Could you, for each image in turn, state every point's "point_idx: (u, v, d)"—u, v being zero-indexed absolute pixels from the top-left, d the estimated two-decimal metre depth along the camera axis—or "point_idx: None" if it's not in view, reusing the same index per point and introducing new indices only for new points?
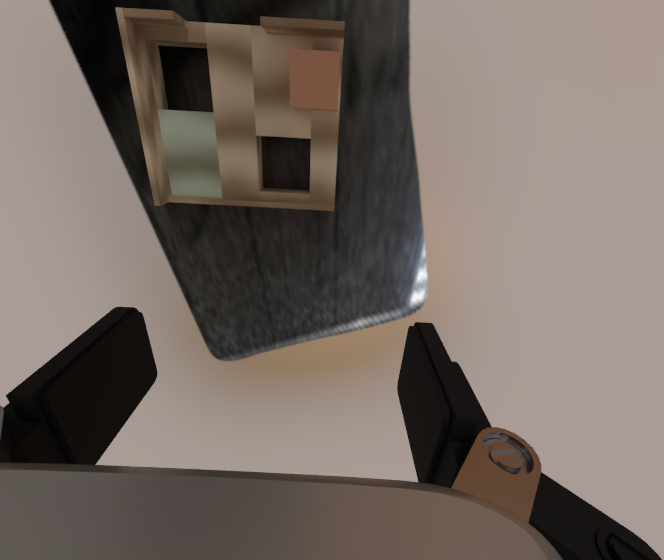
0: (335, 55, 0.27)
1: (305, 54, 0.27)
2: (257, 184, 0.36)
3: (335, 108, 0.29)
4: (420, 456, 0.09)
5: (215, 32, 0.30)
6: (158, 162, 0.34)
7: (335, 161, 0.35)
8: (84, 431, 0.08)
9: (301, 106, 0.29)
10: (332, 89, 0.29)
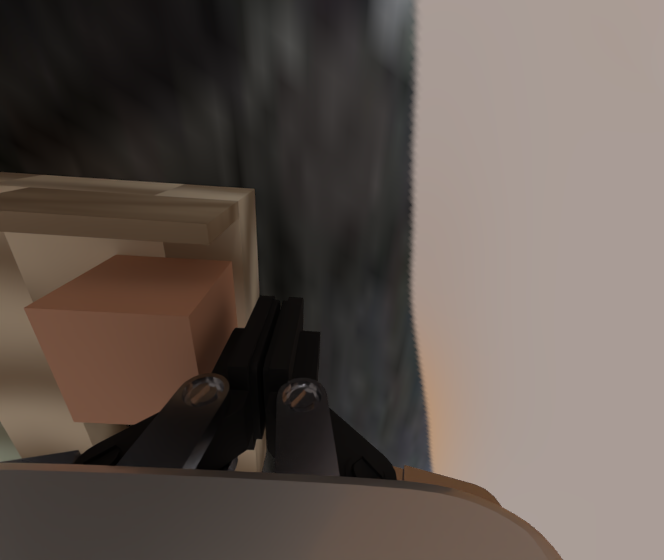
0: (175, 324, 0.09)
1: (80, 321, 0.09)
2: None
3: None
4: None
5: None
6: None
7: None
8: (262, 401, 0.09)
9: (106, 421, 0.10)
10: None
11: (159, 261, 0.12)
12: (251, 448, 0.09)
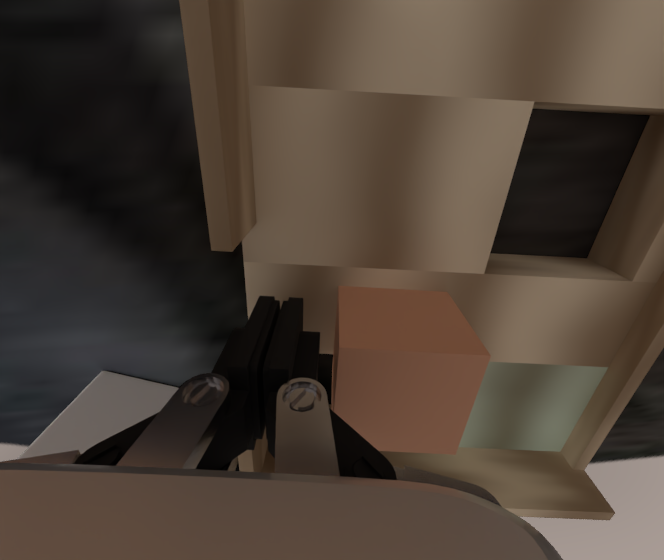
0: (348, 358, 0.09)
1: None
2: (611, 283, 0.13)
3: (486, 360, 0.09)
4: None
5: None
6: (506, 479, 0.15)
7: None
8: (262, 401, 0.09)
9: (460, 433, 0.11)
10: (434, 366, 0.09)
11: (334, 343, 0.13)
12: (251, 447, 0.09)
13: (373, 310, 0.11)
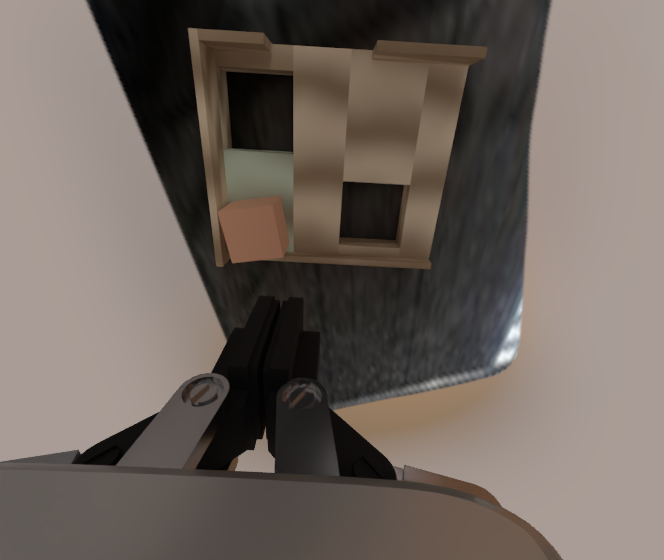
0: (268, 209, 0.25)
1: (235, 214, 0.25)
2: (337, 237, 0.30)
3: (281, 256, 0.26)
4: None
5: (306, 57, 0.24)
6: None
7: (436, 211, 0.29)
8: (262, 401, 0.09)
9: (244, 260, 0.27)
10: (273, 240, 0.26)
11: (251, 199, 0.28)
12: (251, 448, 0.09)
13: (279, 213, 0.27)
